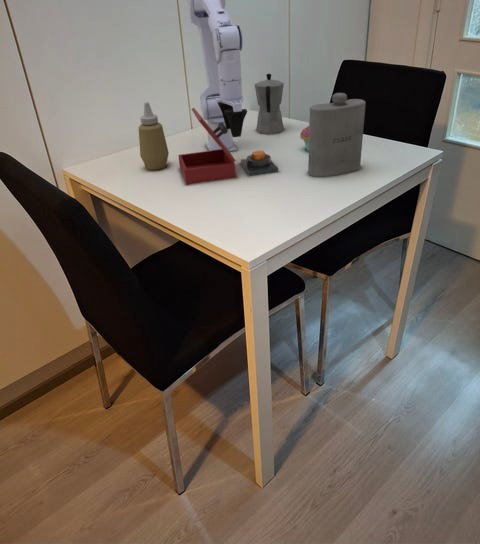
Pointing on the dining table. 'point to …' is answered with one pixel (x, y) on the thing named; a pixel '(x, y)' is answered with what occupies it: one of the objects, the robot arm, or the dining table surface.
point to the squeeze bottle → (152, 141)
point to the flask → (336, 136)
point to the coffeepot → (269, 106)
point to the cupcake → (305, 137)
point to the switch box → (258, 165)
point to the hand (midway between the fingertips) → (233, 132)
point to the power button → (258, 155)
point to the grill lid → (213, 133)
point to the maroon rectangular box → (206, 166)
